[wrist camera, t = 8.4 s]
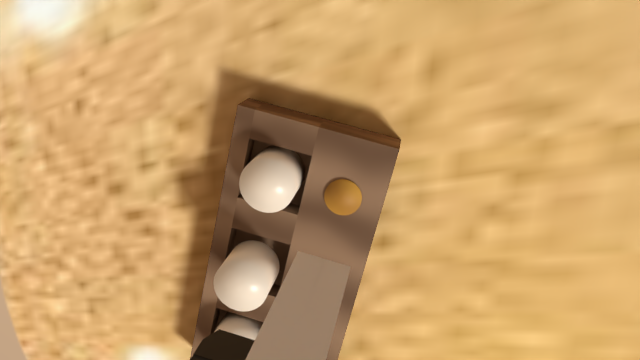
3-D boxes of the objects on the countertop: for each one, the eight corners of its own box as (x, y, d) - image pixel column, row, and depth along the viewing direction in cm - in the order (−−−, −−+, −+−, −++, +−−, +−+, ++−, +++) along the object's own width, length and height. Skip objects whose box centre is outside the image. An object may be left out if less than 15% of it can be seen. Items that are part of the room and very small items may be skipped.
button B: (234, 234, 49) (218, 254, 45) (284, 248, 49) (272, 270, 45) (225, 279, 50) (209, 302, 47) (273, 293, 50) (261, 318, 46)
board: (248, 98, 48) (237, 105, 45) (400, 139, 47) (399, 149, 44) (199, 352, 57) (187, 372, 54) (326, 392, 56) (321, 415, 53)
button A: (259, 139, 48) (244, 151, 44) (310, 153, 48) (300, 167, 44) (248, 187, 50) (234, 203, 46) (298, 201, 49) (288, 219, 45)
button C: (225, 302, 53) (210, 326, 50) (271, 316, 53) (259, 341, 49) (217, 342, 55) (202, 367, 51) (261, 355, 55) (249, 382, 51)
